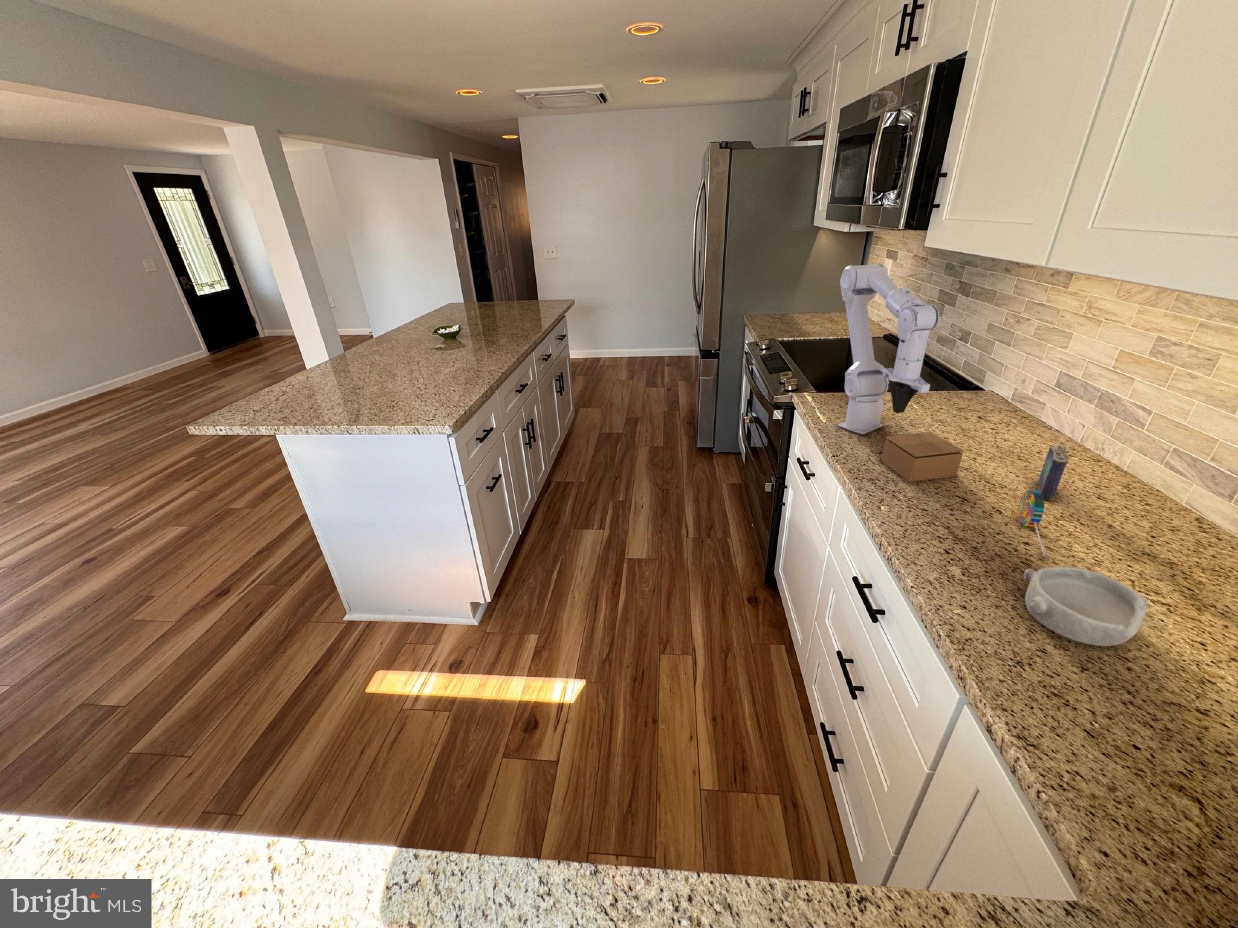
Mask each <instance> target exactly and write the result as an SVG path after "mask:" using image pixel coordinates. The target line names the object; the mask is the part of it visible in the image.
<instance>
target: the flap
mask: <svg viewBox="0 0 1238 928" xmlns="http://www.w3.org/2000/svg"><path fill="white" fill-rule="evenodd" d="M885 438H886V439H889V440H890V441H892V442H893V443H894V444H896V445H897V446H899V447H901V446H904V445H913V444H922V443H931V442H940V441H947V440H946V439H944V438H942V437H941V436H939V435H937V434H936V433H934V432H932V431H926V432H916V433H908V434H897V435H887V436H886V437H885Z"/></svg>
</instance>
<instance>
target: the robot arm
mask: <svg viewBox="0 0 1238 928" xmlns="http://www.w3.org/2000/svg"><path fill="white" fill-rule="evenodd" d="M839 286H840V292H841V293H840V294H841V300H842V301H843V302H844V303H845V310H846V311H845V312H846V317H847V324H848V325H847V326H848V333H849V340H850V346H851V354H852V362H853V364H852V365H851V366H850V367H849V368H848V369H847V370H846V371H845V373H844V385H843V386H844V392H845V394H846V396H847V397H848V399H849V400H848V405H847V410H846V416H845V421H843V422H841V423H838V425H837V426H838V427H839V428H843V429H845V430H848V431H851V432H854V433H857V434H859V435H865V434H868V433H871V432H873V431H875V430H877V429H879V428H882V427H883V426H884V425H883V424H882V423H881V419H882V415H883V411H884V400H883V398H882V397H883V396H884V395H886V393H887V392H888V390H889V392H890V396H891V402H892V403H891V404H892V412H893V413H895V414H904V412H905V411H906V409H907V407H908V405H909V404H910V402H911V400H912V399H913V398H914V396H915V395H916V394H918V393H919V394H928V393H929V392H930V388H931V384H930V383H928V382H926V380H924V379H923V378H922V377H921V373H922V369H923V368H922V367H923V364H924V359H925V353H926V351H927V346H928V340H929V336H930V333H931V332H930V331H932V330H934V329H935V328H936V327H937V326H938V324H939V321H940V312H939V309H938V308H937V306H936V305H935V304H933V303H930V304H929V303H928V304H926V303H923V302H922V300H921V299H920V298H918V297H917V296H915V294H914V293H912V292H911V291H912V290H911V289H910V288H909V287H898V286H897V284H896V283H895V282H894V281H893V279H891V277H890V276H889V268H888V267H886V266H885V264H883V263H876V264H864V265H863V264H861V265H847V266H846V267H844V269H843V271H842V273H841V277H840V280H839ZM877 295H879V296H881V298H883V299H884V300H885V303H884V305H885V307H886V309H887V310H888V311H889V312H890V313H891V314H892V315H893V316H894V317H895V318H896V319H897V327H898V333H897V336H898V339H899V342H898V346H897V352H896V356H895V361H894V366H893V367H887V368H885V367H884V366H883V364H881V363H879V362H878V361H876V360H875V353H874V346H873V338H872V330H871V324H870V317H869V309H868V303H869V302H870V301H872V300H873V299H875V298H876V296H877ZM889 381H891V382H889Z"/></svg>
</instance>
